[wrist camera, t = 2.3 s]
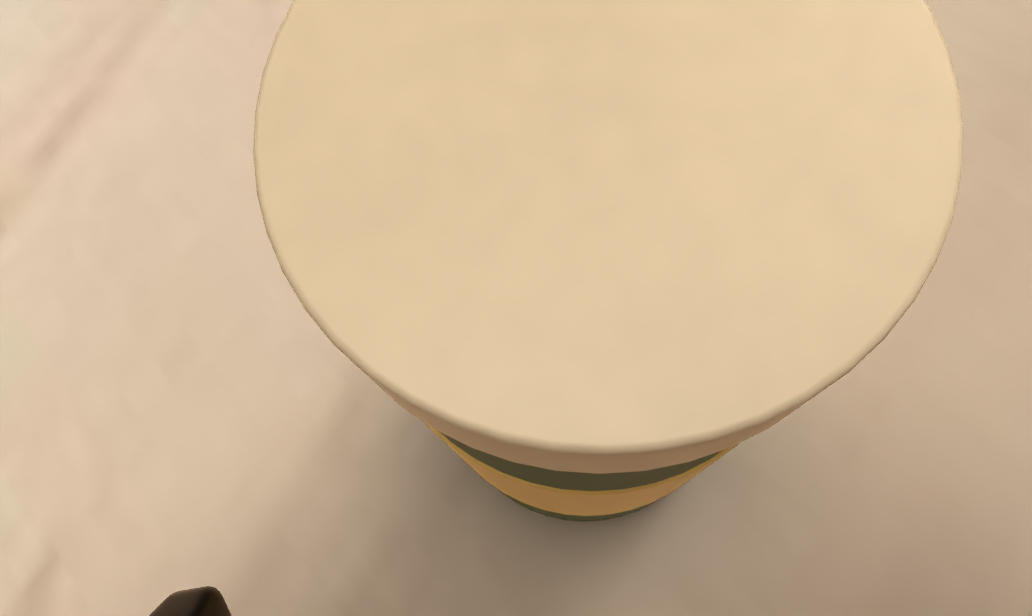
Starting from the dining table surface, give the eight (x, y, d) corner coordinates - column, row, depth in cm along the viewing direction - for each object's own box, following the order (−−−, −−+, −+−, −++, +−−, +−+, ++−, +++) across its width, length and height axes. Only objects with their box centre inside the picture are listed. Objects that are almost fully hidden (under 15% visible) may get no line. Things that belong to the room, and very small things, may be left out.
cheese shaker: (729, 526, 18) (1033, 455, 6) (442, 525, 18) (207, 455, 7) (710, 257, 20) (909, -189, 8) (452, 261, 20) (285, -155, 9)
